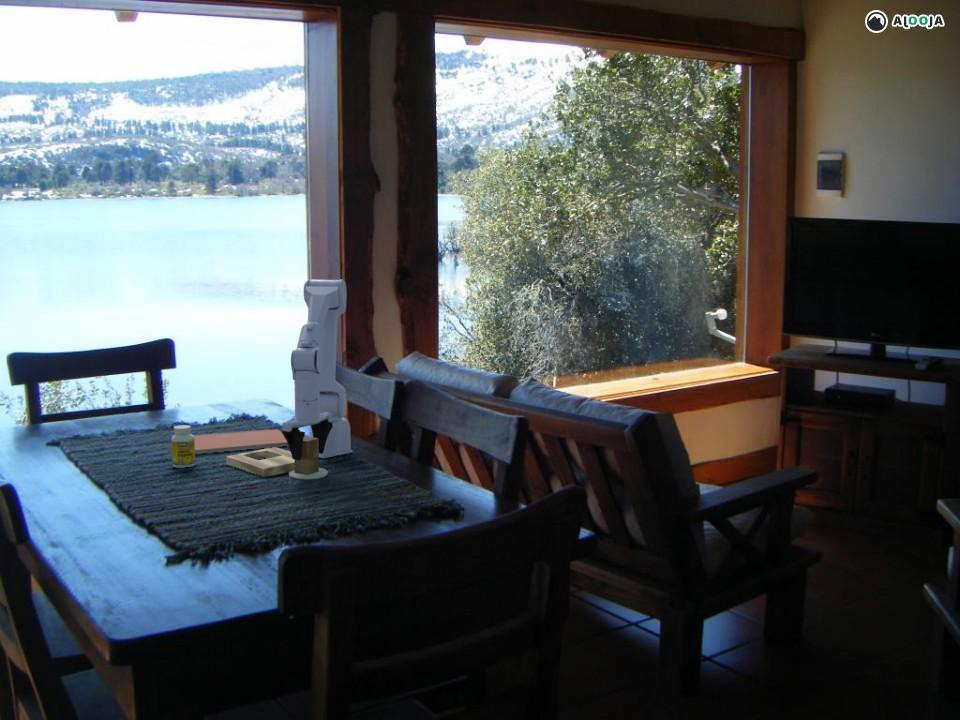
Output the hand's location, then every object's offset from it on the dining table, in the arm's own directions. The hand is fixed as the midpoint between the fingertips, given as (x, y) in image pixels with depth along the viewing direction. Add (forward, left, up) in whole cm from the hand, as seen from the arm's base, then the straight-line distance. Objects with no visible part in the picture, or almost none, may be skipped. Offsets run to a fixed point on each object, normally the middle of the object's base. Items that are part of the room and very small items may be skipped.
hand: (308, 456), depth 245 cm
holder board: (+2, -13, -4) cm, 14 cm away
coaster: (0, 0, -4) cm, 4 cm away
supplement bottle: (+17, -27, -5) cm, 32 cm away
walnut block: (0, 0, -4) cm, 4 cm away
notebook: (-4, -38, -5) cm, 39 cm away
